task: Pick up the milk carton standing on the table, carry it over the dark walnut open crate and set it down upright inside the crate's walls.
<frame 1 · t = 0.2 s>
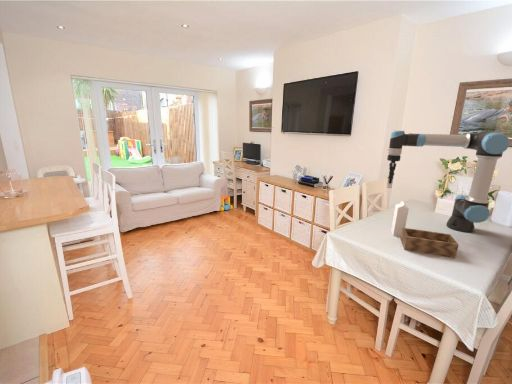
hand: (389, 186, 173), 28 cm above the table, fingers open, 13 cm apart
milk: (397, 234, 163), on the table
crate: (426, 248, 145), on the table
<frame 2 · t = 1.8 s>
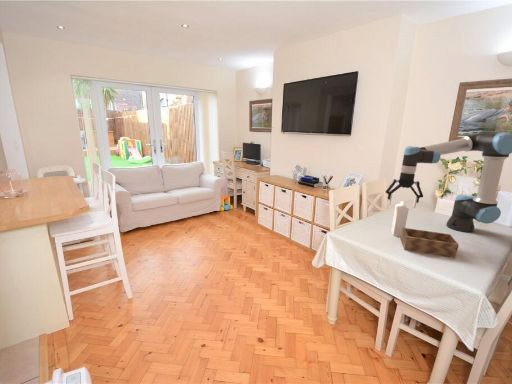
hand: (401, 206, 158), 19 cm above the table, fingers open, 13 cm apart
nothing on the table moved.
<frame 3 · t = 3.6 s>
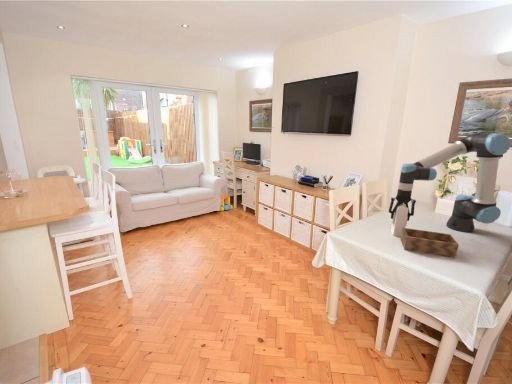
hand: (398, 224, 161), 7 cm above the table, fingers closed on milk, 6 cm apart
milk: (397, 234, 163), on the table, touching gripper
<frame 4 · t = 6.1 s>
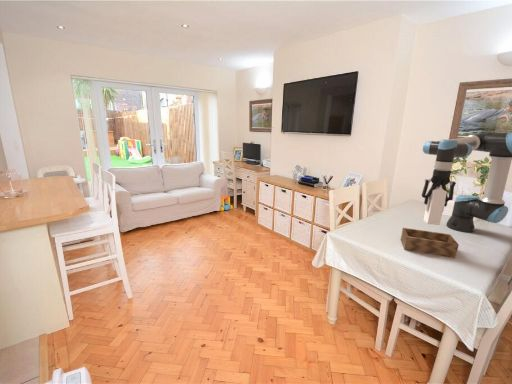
hand: (433, 210, 139), 23 cm above the table, fingers closed on milk, 6 cm apart
milk: (431, 222, 141), point 16 cm above the table, touching gripper
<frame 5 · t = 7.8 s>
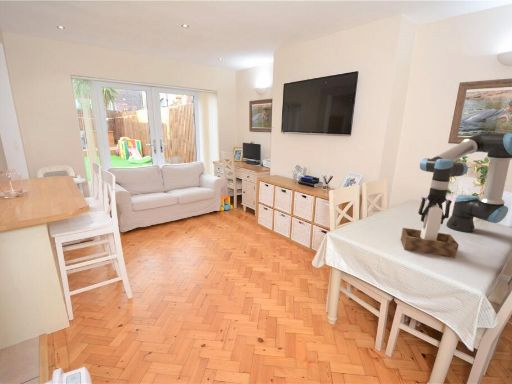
hand: (430, 227, 142), 13 cm above the table, fingers closed on milk, 6 cm apart
milk: (427, 239, 144), point 5 cm above the table, touching gripper
when the fingers open (9 cm above the table, at t = 8.9 s): milk drops 1 cm, resting on crate.
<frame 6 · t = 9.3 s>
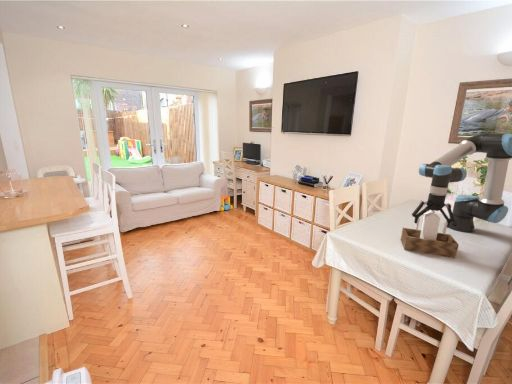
hand: (429, 230, 142), 11 cm above the table, fingers open, 12 cm apart
milk: (426, 246, 145), point 1 cm above the table, touching crate
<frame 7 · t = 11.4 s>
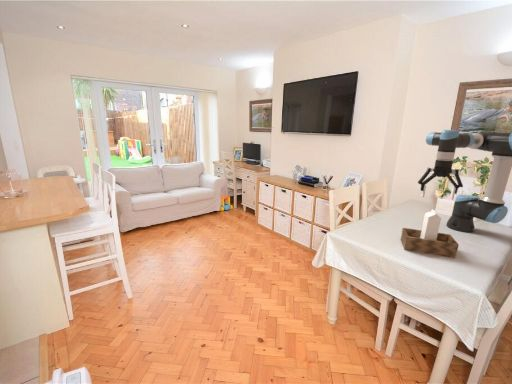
hand: (436, 197, 141), 29 cm above the table, fingers open, 13 cm apart
nothing on the table moved.
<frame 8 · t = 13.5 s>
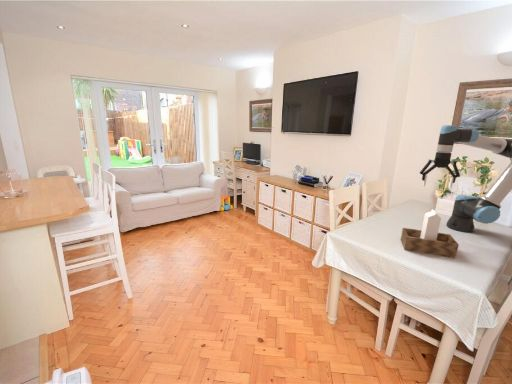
hand: (436, 186, 156), 32 cm above the table, fingers open, 13 cm apart
nothing on the table moved.
at the end: milk inside the target area on the crate (0.0 cm from its centre), point 0.9 cm above the crate's base; milk tilted 0°; the gripper is holding nothing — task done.
